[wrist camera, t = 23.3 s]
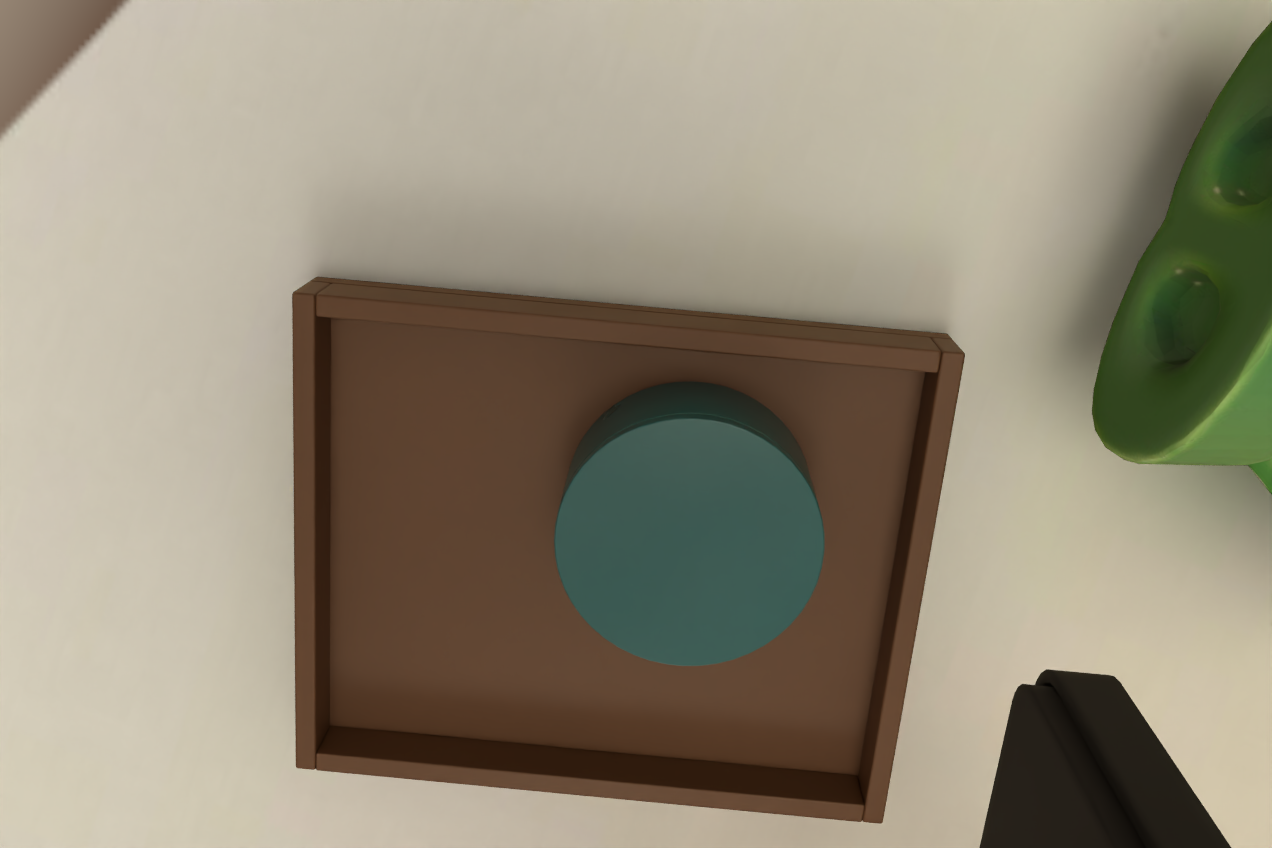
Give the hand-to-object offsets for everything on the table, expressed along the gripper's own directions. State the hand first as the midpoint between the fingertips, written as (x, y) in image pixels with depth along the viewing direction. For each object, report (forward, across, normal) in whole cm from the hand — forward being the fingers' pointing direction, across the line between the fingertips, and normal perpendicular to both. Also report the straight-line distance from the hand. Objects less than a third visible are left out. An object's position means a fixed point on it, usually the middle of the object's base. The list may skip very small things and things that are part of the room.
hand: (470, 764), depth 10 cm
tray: (+23, -1, +8) cm, 24 cm away
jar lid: (+22, -3, +6) cm, 23 cm away
